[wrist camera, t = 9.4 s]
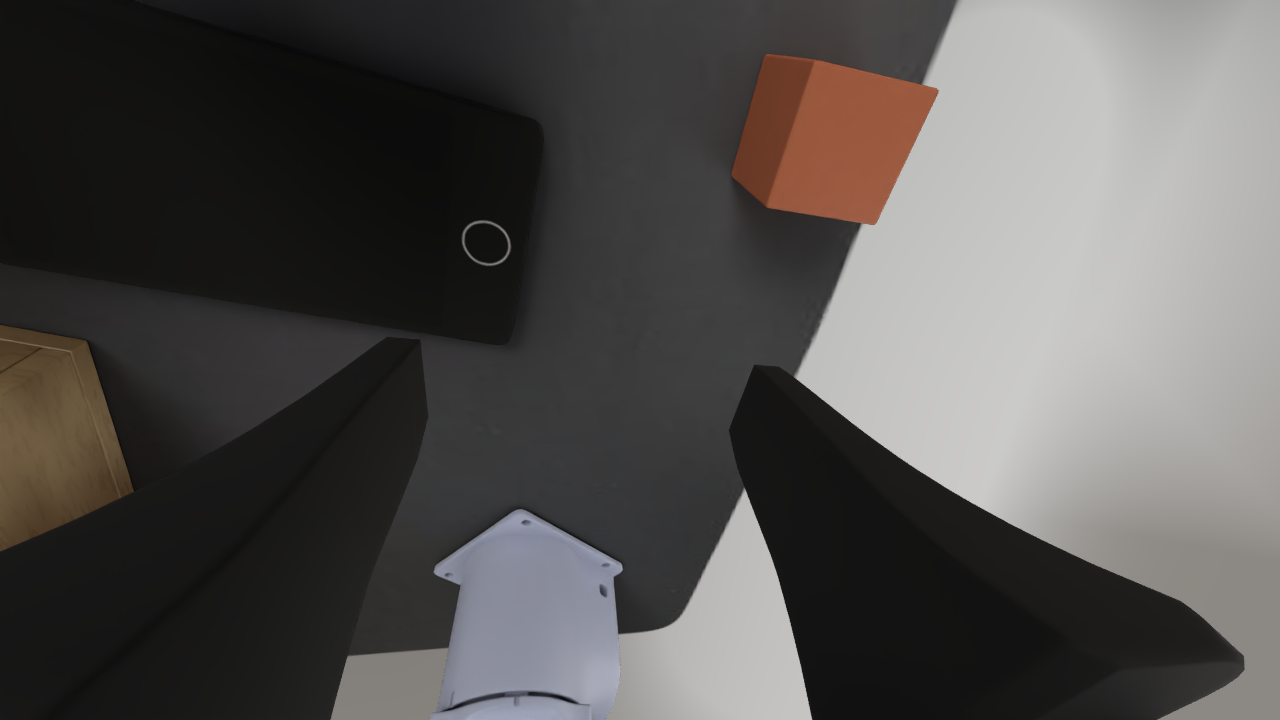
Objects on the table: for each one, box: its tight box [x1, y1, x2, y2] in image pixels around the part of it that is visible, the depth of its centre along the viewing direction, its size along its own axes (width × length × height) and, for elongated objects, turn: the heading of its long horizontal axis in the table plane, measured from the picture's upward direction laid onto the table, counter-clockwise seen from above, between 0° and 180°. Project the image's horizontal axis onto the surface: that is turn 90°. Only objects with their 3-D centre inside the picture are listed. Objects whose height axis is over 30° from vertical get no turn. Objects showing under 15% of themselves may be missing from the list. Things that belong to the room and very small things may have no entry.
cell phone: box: [0, 0, 544, 345], centre depth 15 cm, size 9×18×1 cm, turn 74°
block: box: [731, 54, 938, 225], centre depth 16 cm, size 4×4×4 cm
